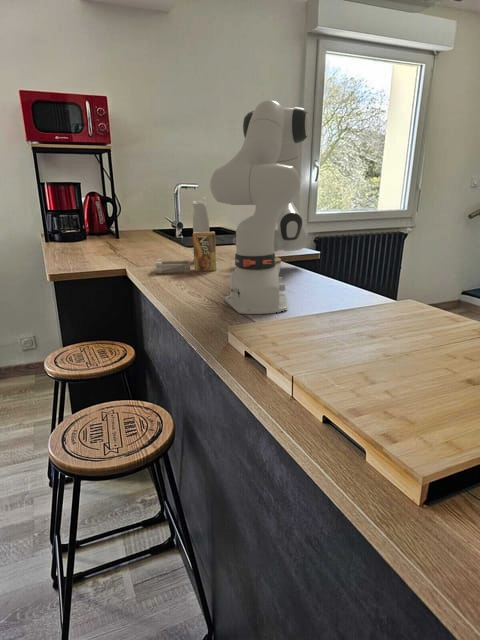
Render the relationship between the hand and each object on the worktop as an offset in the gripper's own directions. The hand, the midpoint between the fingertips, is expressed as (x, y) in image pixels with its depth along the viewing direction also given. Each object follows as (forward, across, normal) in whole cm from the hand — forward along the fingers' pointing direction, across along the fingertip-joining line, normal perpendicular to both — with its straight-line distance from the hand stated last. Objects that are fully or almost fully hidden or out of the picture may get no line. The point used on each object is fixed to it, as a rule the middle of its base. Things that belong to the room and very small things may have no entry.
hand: (234, 242), depth 172 cm
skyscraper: (+12, -20, +11) cm, 26 cm away
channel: (+25, +1, +10) cm, 27 cm away
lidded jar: (-9, +24, +10) cm, 27 cm away
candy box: (+12, +1, +11) cm, 16 cm away
